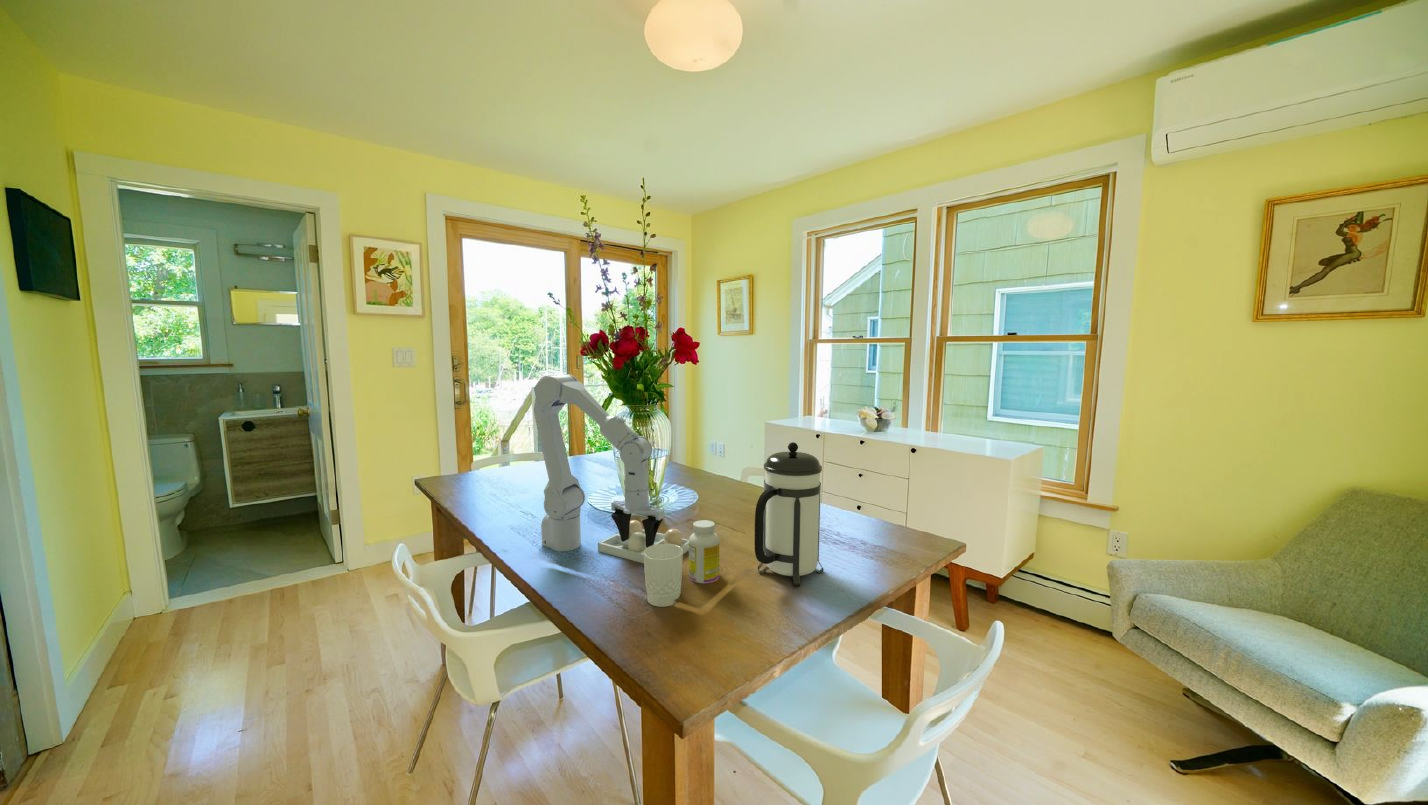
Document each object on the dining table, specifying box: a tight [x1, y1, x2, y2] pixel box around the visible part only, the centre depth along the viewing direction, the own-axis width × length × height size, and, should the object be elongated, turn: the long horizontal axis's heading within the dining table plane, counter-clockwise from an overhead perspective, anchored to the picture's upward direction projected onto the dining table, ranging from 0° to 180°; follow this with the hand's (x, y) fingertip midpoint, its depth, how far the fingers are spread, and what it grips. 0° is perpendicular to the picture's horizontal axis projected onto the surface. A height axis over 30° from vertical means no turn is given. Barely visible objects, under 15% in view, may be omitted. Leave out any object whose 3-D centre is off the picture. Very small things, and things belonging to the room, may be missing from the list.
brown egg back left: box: [629, 519, 643, 537], centre depth 126 cm, size 4×4×5 cm
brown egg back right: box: [664, 528, 683, 547], centre depth 119 cm, size 4×4×5 cm
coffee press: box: [754, 441, 824, 588], centre depth 108 cm, size 17×16×30 cm
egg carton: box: [597, 528, 689, 564], centre depth 120 cm, size 19×13×3 cm
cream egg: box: [628, 532, 647, 552], centre depth 117 cm, size 4×4×5 cm
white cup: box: [643, 544, 684, 608], centre depth 97 cm, size 8×8×10 cm
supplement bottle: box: [688, 519, 720, 584], centre depth 105 cm, size 7×7×13 cm
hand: (637, 543), depth 117 cm, fingers open, 7 cm apart
